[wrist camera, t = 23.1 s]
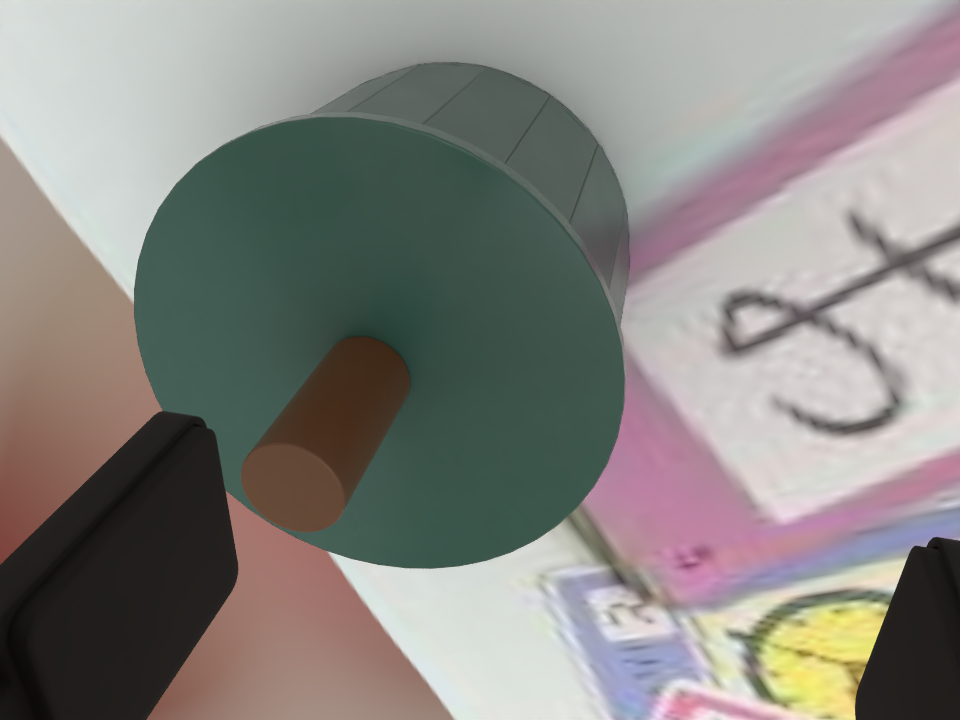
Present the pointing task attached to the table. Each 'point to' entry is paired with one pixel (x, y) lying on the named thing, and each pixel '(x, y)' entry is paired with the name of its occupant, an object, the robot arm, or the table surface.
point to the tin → (515, 145)
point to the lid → (383, 339)
